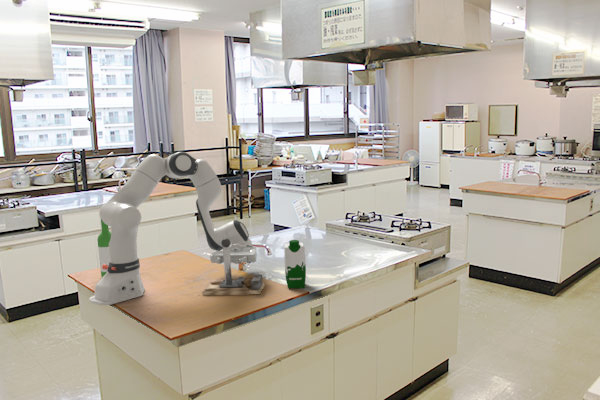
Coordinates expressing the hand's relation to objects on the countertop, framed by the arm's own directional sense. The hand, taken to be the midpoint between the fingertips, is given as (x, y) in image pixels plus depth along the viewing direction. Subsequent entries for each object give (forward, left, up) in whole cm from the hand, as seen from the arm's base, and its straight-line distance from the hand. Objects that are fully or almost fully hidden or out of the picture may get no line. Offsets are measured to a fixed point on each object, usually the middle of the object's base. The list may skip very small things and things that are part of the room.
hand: (229, 261), depth 208 cm
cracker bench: (-2, -3, -12) cm, 12 cm away
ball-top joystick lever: (-2, -3, -10) cm, 10 cm away
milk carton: (+15, -23, -12) cm, 30 cm away
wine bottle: (-14, +65, -12) cm, 67 cm away
